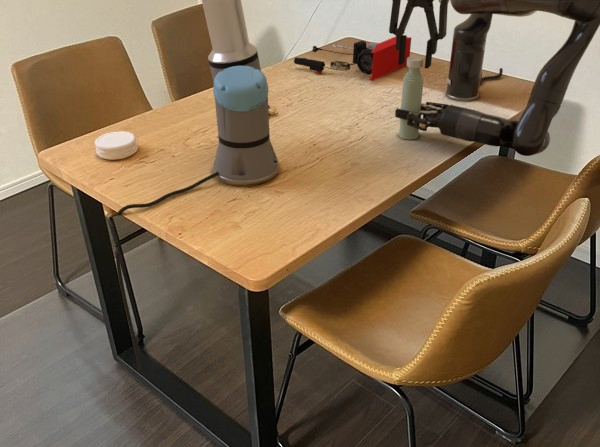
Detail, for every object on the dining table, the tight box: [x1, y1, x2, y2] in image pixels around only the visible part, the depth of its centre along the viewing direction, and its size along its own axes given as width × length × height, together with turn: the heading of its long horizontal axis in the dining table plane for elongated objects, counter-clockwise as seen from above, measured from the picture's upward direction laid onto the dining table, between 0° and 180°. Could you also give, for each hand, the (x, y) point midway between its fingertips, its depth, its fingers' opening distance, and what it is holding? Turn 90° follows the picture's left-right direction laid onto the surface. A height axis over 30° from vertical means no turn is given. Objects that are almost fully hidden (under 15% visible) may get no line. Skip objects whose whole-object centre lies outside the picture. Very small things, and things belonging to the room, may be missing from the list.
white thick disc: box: [94, 130, 139, 161], centre depth 154 cm, size 10×10×4 cm
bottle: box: [398, 67, 424, 141], centre depth 156 cm, size 5×5×20 cm
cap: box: [406, 55, 424, 69], centre depth 151 cm, size 4×4×2 cm
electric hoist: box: [293, 36, 412, 82], centre depth 207 cm, size 10×27×30 cm
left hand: (414, 64), depth 151 cm, fingers open, 6 cm apart
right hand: (401, 109), depth 159 cm, fingers closed on bottle, 5 cm apart
